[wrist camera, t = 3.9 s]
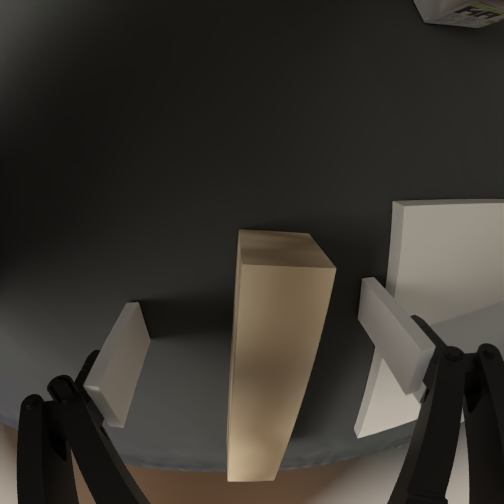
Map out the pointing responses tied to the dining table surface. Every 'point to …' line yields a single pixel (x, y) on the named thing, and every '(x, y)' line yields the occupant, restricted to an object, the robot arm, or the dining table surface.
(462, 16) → the coffee box
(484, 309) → the fulcrum
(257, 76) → the dining table surface
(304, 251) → the beech bar
